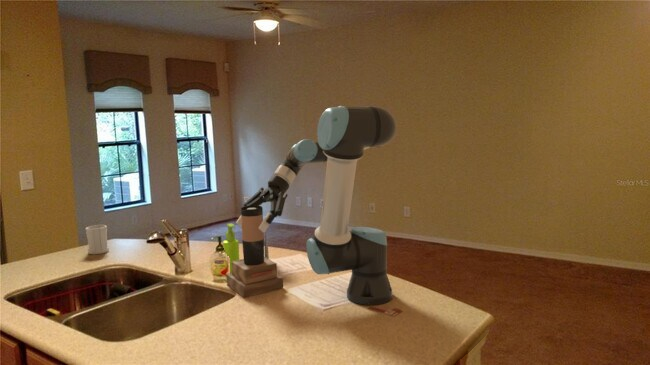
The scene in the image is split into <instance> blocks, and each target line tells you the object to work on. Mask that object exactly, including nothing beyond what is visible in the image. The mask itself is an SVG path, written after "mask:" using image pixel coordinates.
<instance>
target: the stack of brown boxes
mask: <svg viewBox="0 0 650 365" xmlns="http://www.w3.org/2000/svg"><path fill="white" fill-rule="evenodd" d="M226 283H227V284H226V285H227V286H228V287H229V288H230V289H231V290H233V291H235V293H237V294H238V295H240V296H241V297H242V298H243V299H244V298H249V297H252V296H257V295H260V294H264V293H269V292H274V291H276V290H277V291H278V290H282V289H284V277H283V276H282V275H279V274H278V268H277V262H275V261H272V260H271V259H270V258H269V259H267V258H265V256H264V263H262V264H260V265H253V266H251V265H246V264H244V258H243V259H239V260H237V261H232V274H227V276H226Z"/></svg>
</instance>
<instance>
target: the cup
mask: <svg viewBox="0 0 650 365" xmlns="http://www.w3.org/2000/svg"><path fill="white" fill-rule="evenodd" d="M85 232H86V238H87V246H88V250H87V253H88V254H90V255H100V254H105V253H107V252H109V251H110V249H109V248H110V247H109V246H108V226H107V225H105V224H95V225H89V226H87V227H85Z"/></svg>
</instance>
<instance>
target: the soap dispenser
mask: <svg viewBox="0 0 650 365" xmlns="http://www.w3.org/2000/svg"><path fill="white" fill-rule="evenodd" d="M226 226H227V231H226V232H225V239H226V240H223V241H222V245H223V247H222V248H224V250H225V253H226V254H227V256H229V258H230V274H232V261H237V260H240V245H239V239H236V233H235V231H234V230H233V229H235V228H236V226H235V224H234V223H231V222H230V223H226ZM224 250H223V251H224Z"/></svg>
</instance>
